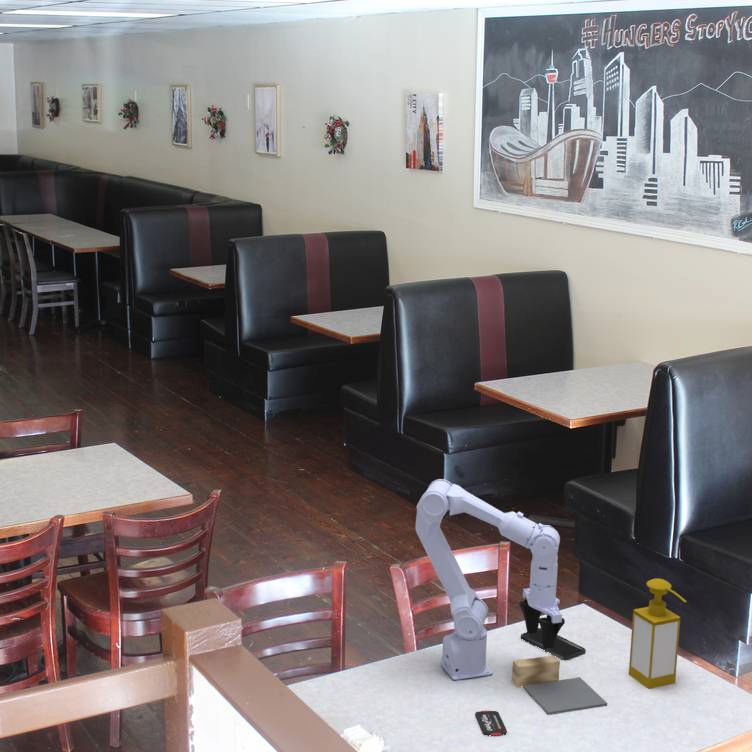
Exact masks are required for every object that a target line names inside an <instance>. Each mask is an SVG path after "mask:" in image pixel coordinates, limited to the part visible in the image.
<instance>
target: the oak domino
mask: <svg viewBox="0 0 752 752" xmlns="http://www.w3.org/2000/svg"><path fill="white" fill-rule="evenodd" d="M560 661H561V660H560V659H559V658H557V657H555V656H554V655H545V656H540V657H533V658H532V657H531V658H525V659H524V658H523V659H518V660H512V669H511V682H512V681H513V682H512V683H513V684H514V685H515V686H516V687H517V688H522V687H521V686H524V685H531V684H538V683H544V682H551V681H558V680H560Z"/></svg>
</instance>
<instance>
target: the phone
mask: <svg viewBox="0 0 752 752" xmlns="http://www.w3.org/2000/svg"><path fill="white" fill-rule="evenodd" d="M522 639H523V640H522ZM520 640H522V641H524V640H525V641H524V642H526V641H527V642H526V643H528V642H529V643H531V644H532V645H531V644H530V645H531V646H533V645H535V646H537V647H539V648H541V649H543V650H545V651H547V652H549V653H551V654H552V655H554V656H556V658H557V657H558V658H557V659H559V658H560V659H559V660H560V661H563V660H565V662H566V660H567V661H569V660H572V659H575V658H578V657H580V655H581V656H583V655H585V654H586V648H585V647H582V646H580V645H579V644H577V643H575V642H572V641H571V640H569V639H567V638H565V637H562V636H561V635H558V634H557V637H556V640H555V643H554V646H553V648H548V649H544V648H543V644H542V631H541V627H538V630H537V633H531V634H528V633H527V631H526V632H524V633H521V634H520ZM529 643H528V644H529ZM535 646H534V647H535ZM537 647H536V648H537ZM539 648H538V649H539ZM541 649H540V650H541ZM543 650H542V651H543ZM545 651H544V652H545ZM547 652H546V653H547ZM549 653H548V654H549ZM551 654H550V655H551ZM552 655H551V656H552Z"/></svg>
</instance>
